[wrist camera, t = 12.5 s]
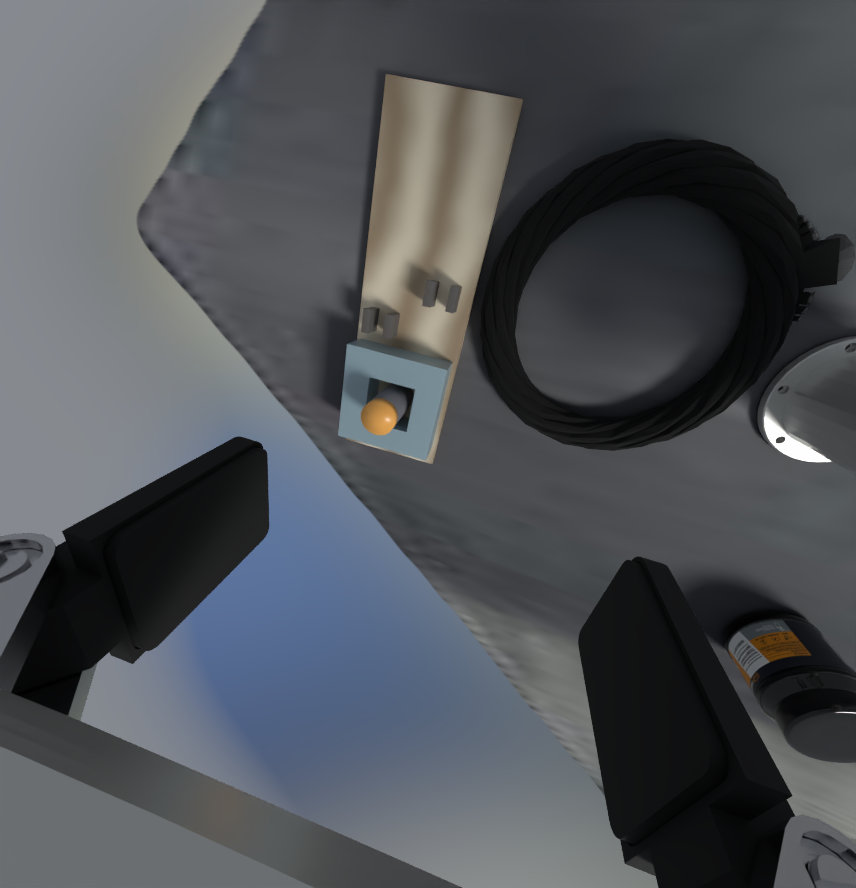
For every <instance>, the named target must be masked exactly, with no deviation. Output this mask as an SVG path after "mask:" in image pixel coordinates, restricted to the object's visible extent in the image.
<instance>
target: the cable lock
mask: <svg viewBox="0 0 856 888" xmlns="http://www.w3.org/2000/svg"><path fill="white" fill-rule="evenodd" d="M663 194H665V195H673V196H677V197H680V198H684V199H687V200H689V201H692V202H694V203H697V204H699V205H701V206H704V207H706V208H709V209H711V210H712V211H713V212H715V213H716V214H717V215H718V216H719V217H720V218H721V220H722V221H723V222H724V223H725V224H726V226H727V227H728V228H729V229H730V230H731V231H732V233H733V234H734V235H735V236H736V237H737V239H738V241H739V243H740V245H741V248H742V253H743V257H744V261H745V265H746V269H747V273H748V277H749V280H748V288H747V295H746V303H745V308H744V312H743V316H742V319H741V323H740V326H739V328H738V330H737V332H736V334H735V336H734V338H733V339H732V341H731V343H730V345H729V347H728V348H727V349H726V351H725V352H724V354H723V355H722V357H721V358H720V360H719V361H718V363H717V364H716V365H715V366H714V367H713V368H712V369H711V370H710V372H709V373H708V374H707V375H706V376H705V377H704V378H703V379H702V380H700V381H699V382H698V383H696V384H695V385H694V386H692V387H691V388H690V389H689V390H687V391H686V392H685V393H683V394H682V395H681V396H679V397H678V398H676V399H674V400H672V401H670V402H669V403H667V404H665V405H663V406H660V407H657V408H654V409H652V410H649V411H646V412H643V413H641V414H638V415H635V416H630V417H625V418H588V417H583V416H580V415H578V414H575V413H573V412H571V411H568V410H566V409H563V408H561V407H558V406H556V405H554V404H552V403H551V402H549V401H548V400H547V399H546V398H545V397H544V396H543V395H542V394H541V393H540V392H539V390H538V389H537V388H536V387H535V386H534V385H533V384H532V383H531V381H530V379H529V378H528V376H527V375H526V373H525V371H524V369H523V366H522V364H521V361H520V359H519V355H518V351H517V345H516V339H515V328H516V320H517V313H518V305H519V301H520V298H521V294H522V291H523V288H524V286H525V284H526V282H527V280H528V278H529V276H530V274H531V272H532V270H533V268H534V266H535V265H536V263H537V262H538V261H539V259H540V258H541V256H542V255H543V253H544V252H545V251H546V249H547V248H548V246H549V245H550V244H551V243H552V242H553V241H554V240H556V239H557V238H558V237H559V236H560V235H561V234H562V233H564V232H565V231H566V230H567V229H568V228H569V227H570V226H571V225H573V224H574V223H575V222H576V221H577V220H578V219H579V218H581V217H583V216H585V215H588V214H590V213H592V212H594V211H596V210H598V209H600V208H603V207H605V206H607V205H609V204H611V203H613V202H615V201H617V200H620V199H623V198H627V197H637V196H650V195H663ZM811 228H813V226H812V225H811V223H810V222H808V221H807V220H806V218H805V216H803V215H798V213H797V210H796V208H795V205H794V204H793V203H792V202H791V201H790V200H789V199H788V198H787V195H786V193H785V192H784V190H783V188H782V187H781V185H780V183H779V181H778V180H777V179H776V178H775V177H773V176H772V175H770V174H769V173H767V172H766V171H764V170H763V169H761V168H760V167H758V166H757V165H755V163H754V162H753V161H752V160H750V159H749V158H747V157H745V156H744V155H742V154H740V153H739V152H737V151H735V150H734V149H732V148H730V147H727V146H723V145H719V144H715V143H711V142H708V141H704V140H691V141H685V140H674V139H663V140H656V141H650V142H643V143H636V144H634V145H631V146H629V147H627V148H625V149H622V150H620V151H617V152H614V153H610V154H607V155H604V156H601V157H599V158H597V159H595V160H593V161H591V162H589V163H587V164H585V165H583V166H582V167H580V168H578V169H576V170H574V171H573V172H572V173H571V174H570V175H569V176H567V177H566V178H565V179H564V180H563V181H562V182H561V183H559V184H558V185H556V186H555V187H554V188H552V189H551V190H549V191H548V192H547V193H546V194H545V195H544V196H543V197H542V198H541V199H539V200H538V201H537V202H536V203H535V204H534V205H533V206H532V207H531V208H530V209H529V210H528V211H527V212H526V213H525V215H524V216H523V218H522V219H521V221H520V222H519V224H518V225H517V227H516V228H515V230H514V231H513V232H512V233H511V234H510V236H509V237H508V239H507V240H506V242H505V244H504V246H503V248H502V249H501V251H500V253H499V255H498V256H497V258H496V260H495V262H494V265H493V268H492V272H491V275H490V278H489V281H488V284H487V287H486V292H485V296H484V301H483V305H482V310H481V338H482V345H483V356H484V360H485V363H486V367H487V370H488V374H489V377H490V378H491V380H492V382H493V384H494V386H495V387H496V389H497V391H498V393H499V394H500V396H501V397H502V399H503V400H504V401H505V403H506V404H507V406H508V407H509V408H510V410H511V411H512V412H513V413H515V414H516V415H517V416H518V417H519V418H520V419H521V420H522V421H523V422H524V423H525V424H527V425H528V426H530V427H532V428H534V429H536V430H538V431H539V432H540V433H542V434H544V435H546V436H548V437H550V438H552V439H554V440H557V441H559V442H561V443H563V444H567V445H573V446H580V447H584V448H587V449H599V450H612V451H614V450H621V449H629V448H636V447H643V446H646V445H648V444H651V443H655V442H661V441H666V440H670V439H672V438H674V437H676V436H679V435H681V434H683V433H685V432H688V431H690V430H692V429H694V428H696V427H698V426H699V425H701V424H702V423H704V422H705V421H707V420H709V419H711V418H713V417H714V416H716V415H718V414H720V413H722V412H723V411H724V410H726V409H727V408H728V407H729V406H730V405H731V404H732V403H733V402H734V401H735V400H737V399H738V398H739V397H740V396H741V395H742V394H743V393H744V392H745V391H746V390H748V389H749V388H750V387H751V386H752V385H753V384H754V383H755V382H756V381H757V379H758V378H759V376H760V375H761V374H762V373H763V372H764V371H765V370H766V369H767V367H768V366H769V364H770V363H771V361H772V360H773V358H774V357H775V355H776V353H777V352H778V350H779V349H780V347H781V346H782V344H783V342H784V340H785V337H786V335H787V333H788V331H789V328H790V326H791V324H792V321H800V319H801V316H795V314H802V313H803V314H804V313H805V312H806V311H807V309H808V308H806V307H805V306H798V305H799V304H805V305H806V304H807V303H808V304H809V305H810V304H811V303H812V300H813V296H814V293H815V292H814V293H812V294H811V293H809V292H803V290H804V288H810V287H818V286H826V285H834V284H837V281H840V280H842V279H843V278H844V277H845V276H846V275H847V274H848V272H849V271H850V270H851V269H852V266H853V262H854V259H855V251H854V245H853V244H852V242H851V241H850V240H849V239H848V237H847V236H846V235H843V234H834V235H831V236H829V237H827V238H826V239H825V240H820V241H813V240H817V237H818V234H817V232H816V231H815V230H814V229H812V230H811Z"/></svg>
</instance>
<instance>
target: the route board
mask: <svg viewBox="0 0 856 888" xmlns="http://www.w3.org/2000/svg"><path fill="white" fill-rule="evenodd" d="M522 104H523V99H519V98H514V97H509V96H503V95H498V94H492V93H487V92H481V91H476V90H471V89H465V88H460V87H454V86H449V85H444V84H438V83H433V82H427V81H422V80H417V79H411V78H406V77H400V76H395V75H389V74H386V79H385V88H384V97H383V106H382V115H381V125H380V134H379V143H378V152H377V161H376V170H375V179H374V189H373V198H372V207H371V216H370V225H369V234H368V244H367V253H366V262H365V271H364V280H363V289H362V299H361V308H360V317H359V326H358V335H357V340H359V339H365V340H369V341H373V342H377V343H381V344H385V345H388V346H392V347H396V348H400V349H404V350H408V351H411V352H415V353H419V354H423V355H427V356H431V357H434V358H438V359H442V360H446V361H450V362H453V364H452V368H451V372H450V376H449V380H448V384H447V388H446V392H445V397H444V401H443V405H442V409H441V413H440V417H439V421H438V425H437V429H436V434H435V438H434V442H433V446H432V448H431V451H430V453H429V455H428V457H427V459H426V461H425V460H421V459H418V458H414V457H411V456H408V455H404V454H401V453H397V452H394V451H390V450H387V449H383V448H380V447H376V446H373V445H370V444H366V443H363V442H359V441H356V440H352V439H349V438H346V439H348V440H351V441H355V442H358V443H361V444H365V445H368V446H372V447H375V448H379V449H382V450H386V451H389V452H393V453H396V454H399V455H403V456H406V457H410V458H413V459H417V460H420V461H424V462H427V463H430V464H432V463H433V460H434V457H435V453H436V449H437V445H438V441H439V437H440V433H441V429H442V425H443V421H444V417H445V413H446V409H447V405H448V401H449V397H450V393H451V389H452V385H453V381H454V377H455V373H456V369H457V365H458V361H459V357H460V353H461V349H462V345H463V341H464V337H465V333H466V329H467V325H468V321H469V317H470V313H471V309H472V305H473V301H474V297H475V293H476V289H477V285H478V281H479V277H480V273H481V269H482V265H483V261H484V257H485V253H486V249H487V245H488V241H489V237H490V233H491V229H492V225H493V221H494V217H495V213H496V209H497V205H498V201H499V197H500V193H501V189H502V185H503V181H504V177H505V173H506V169H507V165H508V161H509V157H510V153H511V149H512V145H513V141H514V137H515V133H516V129H517V125H518V121H519V117H520V113H521V109H522ZM389 384H390V383H389V382H386V381H382V380H380V382H379V389H378V394H379V393H380V392H381V391H382V390H383V389H384V388H385V387H386V386H388V385H389ZM411 389H412V388H411ZM412 391H413V394H414V393H415V389H412ZM412 403H413V402H412ZM411 408H412V404H411V405H410V406H409V408H408V409H407V410H406V412H405V413H404V414H403V417H406V418H410V413H411Z"/></svg>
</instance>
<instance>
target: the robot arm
mask: <svg viewBox="0 0 856 888" xmlns="http://www.w3.org/2000/svg"><path fill="white" fill-rule="evenodd" d="M757 422H758V426H759V430H760V432H761V434H762V436H763V438H764V439H765V440H766V442H767V443H768V444H769V445H770V446H771V447H773V448H775V449H776V450H778V451H779V452H781V453H782V454H785V455H787V456H789V457H791V458H794V459H798V460H802V461H809V462H834V463H835V464H837V465H839V466H841V467H843V468H845V469H846V470H848V471H850V472H852V473H854V474H856V336H851V337H845V338H841V339H838V340H834V341H830V342H828V343H825V344H823V345H820V346H818V347H815V348H813V349H812V350H810V351H808V352H806V353H804V354H803V355H801V356H799V357H798V358H796V359H795V360H794V361H792V362H791V363H790V364H788V365H787V366H786V367H785V368H784V369H783V370H782V371H781V372H780V373H779V374H778V375H776V376H775V378H774V379H773V380H772V382H771V383H770V384H769V386H768V387H767V388H766V390H765V392H764V394H763V396H762V398H761V401H760V404H759V408H758V417H757ZM268 529H269V503H268V465H267V452H266V450H264V449H263V446H262V444H261V443H259V442H257V441H253V440H250V439H246V438H243V437H235V438H233V439H231V440H229V441H227V442H225V443H224V444H222V445H220V446H218V447H216V448H214V449H213V450H211V451H209V452H207V453H205V454H203V455H202V456H200V457H198V458H196V459H194V460H192V461H190V462H189V463H187V464H185V465H183V466H181V467H180V468H178V469H176V470H174V471H172V472H170V473H168V474H167V475H165V476H163V477H161V478H159V479H157V480H156V481H154V482H152V483H150V484H148V485H146V486H145V487H143V488H141V489H139V490H137V491H135V492H133V493H132V494H130V495H128V496H126V497H125V498H123V499H121V500H119V501H117V502H116V503H113V504H112V505H110V506H108V507H106V508H104V509H102V510H100V511H99V512H97V513H95V514H93V515H91V516H89V517H87V518H86V519H84V520H82V521H80V522H78V523H76V524H75V525H73V526H71V527H69V528H67V529H66V530H64V531H62V532H63V534H64V537H65V539H66V541H65V542H63V543H62V544H60V545H58V546H57V547H56V545H55V544H54V542H53V540H52V539H51V538H49V537H47V536H45V535H40V534H34V533H22V534H11V535H6V536H1V537H0V888H462V887H459V886H457V885H455V884H453V883H450V882H448V881H446V880H443V879H441V878H439V877H437V876H435V875H432V874H430V873H428V872H426V871H423V870H421V869H419V868H416V867H414V866H412V865H410V864H408V863H405V862H403V861H401V860H398V859H396V858H394V857H392V856H389V855H387V854H385V853H382V852H380V851H378V850H375V849H373V848H371V847H369V846H367V845H364V844H362V843H360V842H357V841H355V840H353V839H351V838H348V837H346V836H344V835H341V834H339V833H337V832H334V831H332V830H330V829H328V828H325V827H323V826H321V825H318V824H316V823H314V822H312V821H309V820H307V819H305V818H302V817H300V816H298V815H296V814H293V813H291V812H289V811H287V810H284V809H282V808H280V807H277V806H275V805H273V804H271V803H268V802H266V801H264V800H261V799H259V798H256V797H255V796H252V795H250V794H248V793H245V792H243V791H241V790H239V789H236V788H234V787H232V786H229V785H227V784H225V783H223V782H220V781H218V780H216V779H213V778H211V777H209V776H206V775H204V774H202V773H199V772H197V771H195V770H192V769H190V768H188V767H185V766H183V765H181V764H178V763H176V762H174V761H172V760H169V759H167V758H165V757H162V756H160V755H158V754H155V753H153V752H151V751H148V750H146V749H144V748H141V747H139V746H137V745H134V744H132V743H130V742H127V741H125V740H123V739H121V738H118V737H116V736H113V735H111V734H109V733H107V732H104V731H102V730H100V729H97V728H95V727H92V726H90V725H87V724H86V723H83V722H81V721H80V720H81V717H82V713H83V710H84V706H85V703H86V700H87V696H88V693H89V689H90V686H91V683H92V679H93V676H94V672H95V669H96V665H97V662H98V661H99V660H101V659H102V658H103V657H104V656H105V655H106V654H107V653H108V652H110V654H111V655H112V656H115V657H117V658H119V659H122V660H124V661H127V662H129V663H132V664H133V663H134V662H135V661H136V660H137V659H138V658H139V657H140V656H141V655H142V654H143V653H144V652H145V651H150V650H152V649H154V648H156V647H157V646H158V645H159V644H160V643H161V642H162V641H163V640H164V639H165V638H166V637H167V636H168V635H169V634H170V633H171V632H172V631H173V630H174V629H175V628H176V627H177V626H178V625H179V624H180V623H181V622H182V621H183V620H184V619H185V618H186V617H187V616H188V615H189V614H190V613H191V612H192V611H193V610H194V609H195V608H196V607H197V606H198V605H199V604H200V603H201V602H202V601H203V600H204V599H205V598H206V597H207V596H208V595H209V594H210V593H211V592H212V591H213V590H214V589H215V588H216V587H217V586H218V585H219V584H220V583H221V582H222V581H223V579H225V578H226V577H227V576H228V575H229V574H230V573H231V572H232V571H233V570H234V569H235V568H236V567H237V566H238V565H239V564H240V563H241V562H242V560H243V559H244V558H245V557H246V556H247V555H248V554H249V553H250V552H251V551H252V550H253V549H254V548H255V547H256V546H257V545H258V544H259V543H260V542H261V541H262V540H263V539H264V538H265V536H266V535H267V533H268ZM578 644H579V651H580V657H581V662H582V668H583V674H584V680H585V685H586V691H587V697H588V702H589V708H590V714H591V719H592V725H593V731H594V736H595V742H596V748H597V753H598V759H599V765H600V770H601V776H602V782H603V787H604V793H605V798H606V804H607V810H608V816H609V821H610V825H611V828H612V831H613V833H614V835H615V836H616V837H617V838H618V839H620V840H621V846H622V851H623V856H624V861H625V864H627V865H630V866H632V867H634V868H637V869H639V870H642V871H644V872H647V873H649V874H652V875H654V876H656V879H657V883H658V887H659V888H856V844H855V843H854V842H853V841H851V840H850V839H849V838H848V837H846V836H845V835H844V834H843V833H841V832H840V831H839V830H837V829H835V828H833V827H832V826H830V825H828V824H826V823H825V822H823V821H821V820H819V819H816V818H813V817H809V816H806V815H799V816H795V815H794V813H793V811H792V809H791V807H790V805H789V803H788V801H787V800H786V799H788V798H790V797H791V796H792V794H791V792H790V790H789V789H788V787H787V785H786V783H785V781H784V779H783V778H782V776H781V774H780V772H779V770H778V768H777V767H776V765H775V763H774V761H773V759H772V757H771V756H770V754H769V752H768V750H767V748H766V746H765V744H764V743H763V741H762V739H761V737H760V735H759V733H758V732H757V730H756V728H755V726H754V724H753V722H752V721H751V719H750V717H749V715H748V713H747V711H746V709H745V708H744V706H743V704H742V702H741V700H740V698H739V697H738V695H737V693H736V691H735V689H734V687H733V686H732V684H731V682H730V680H729V678H728V676H727V675H726V673H725V671H724V669H723V667H722V665H721V663H720V662H719V660H718V658H717V656H716V654H715V652H714V651H713V649H712V647H711V645H710V643H709V641H708V640H707V638H706V636H705V634H704V632H703V630H702V628H701V627H700V625H699V623H698V621H697V619H696V617H695V616H694V614H693V612H692V610H691V608H690V606H689V605H688V603H687V601H686V599H685V597H684V595H683V594H682V592H681V590H680V588H679V586H678V584H677V582H676V581H675V579H674V577H673V575H672V573H671V571H670V570H669V568H668V567H667V566H666V565H664V564H662V563H659V562H655V561H652V560H649V559H645V558H642V557H635V558H634V559H633V560H632V561H630V560H626V561H625V562H624V563H623V564H622V566H621V567H620V569H619V570H618V572H617V574H616V575H615V577H614V578H613V580H612V581H611V583H610V585H609V586H608V588H607V589H606V591H605V593H604V594H603V596H602V597H601V599H600V600H599V602H598V604H597V605H596V607H595V608H594V610H593V612H592V613H591V615H590V616H589V618H588V619H587V621H586V623H585V624H584V626H583V627H582V629H581V631H580V634H579V640H578Z"/></svg>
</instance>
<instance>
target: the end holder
mask: <svg viewBox="0 0 856 888" xmlns="http://www.w3.org/2000/svg"><path fill="white" fill-rule="evenodd" d="M452 364H453V362H450V361H446V360H442V359H438V358H434V357H431V356H427V355H423V354H419V353H415V352H411V351H408V350H404V349H400V348H396V347H392V346H388V345H385V344H381V343H377V342H373V341H369V340H365V339H359V340H356V341H353V342H351V343H348V344H347V350H346V360H345V371H344V381H343V391H342V402H341V412H340V423H339V433H338V436H342V437H345V438H349V439H352V440H356V441H359V442H363V443H366V444H370V445H373V446H376V447H380V448H383V449H387V450H390V451H394V452H397V453H401V454H404V455H408V456H411V457H414V458H418V459H421V460H425V461H426V459H427V457H428V455H429V453H430V451H431V448H432V446H433V442H434V438H435V434H436V429H437V425H438V421H439V417H440V413H441V409H442V405H443V401H444V397H445V392H446V388H447V384H448V380H449V376H450V372H451V368H452ZM380 380H382V381H386V382H389V383H393V384H397V385H400V386H404V387H408V388H412V389H415V393H414V398H413V403H412V408H411V413H410V418H406V417H403V416H402V417H401V418H400V420H399V421H398V422H397V424H396V425H395V426H394V428H393V429H392V430H391V431H390V432H389V433H387V434H385V435H375V434H372V433H370V432H369V431H368V430H367V429H366V428H365V427H364V426H363V424H362V421H361V411H362V409H363V408H364V406H365V405H366V404H368V403H369V402H370V401H371V400H372V399H373V398H374V397H375V396H376V395H378V389H379V382H380Z"/></svg>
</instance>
